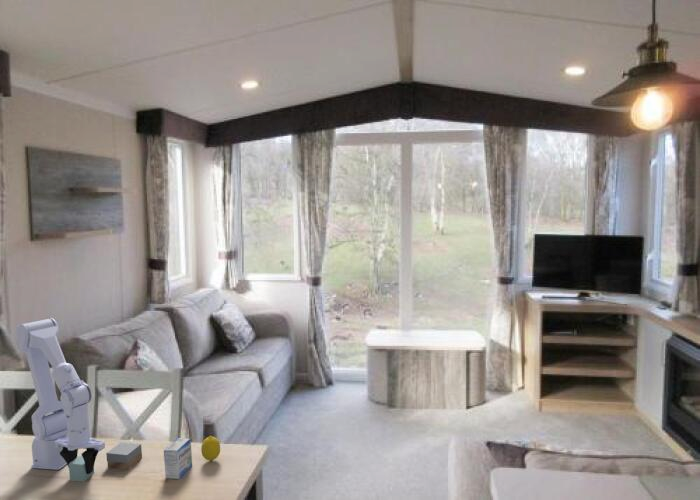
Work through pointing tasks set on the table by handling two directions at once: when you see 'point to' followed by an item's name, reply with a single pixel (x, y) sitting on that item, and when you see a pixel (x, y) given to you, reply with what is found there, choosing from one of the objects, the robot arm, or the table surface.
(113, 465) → the walnut block
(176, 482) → the table surface
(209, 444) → the lemon
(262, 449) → the table surface
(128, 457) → the gray block
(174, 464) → the medicine box
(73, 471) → the teal block
